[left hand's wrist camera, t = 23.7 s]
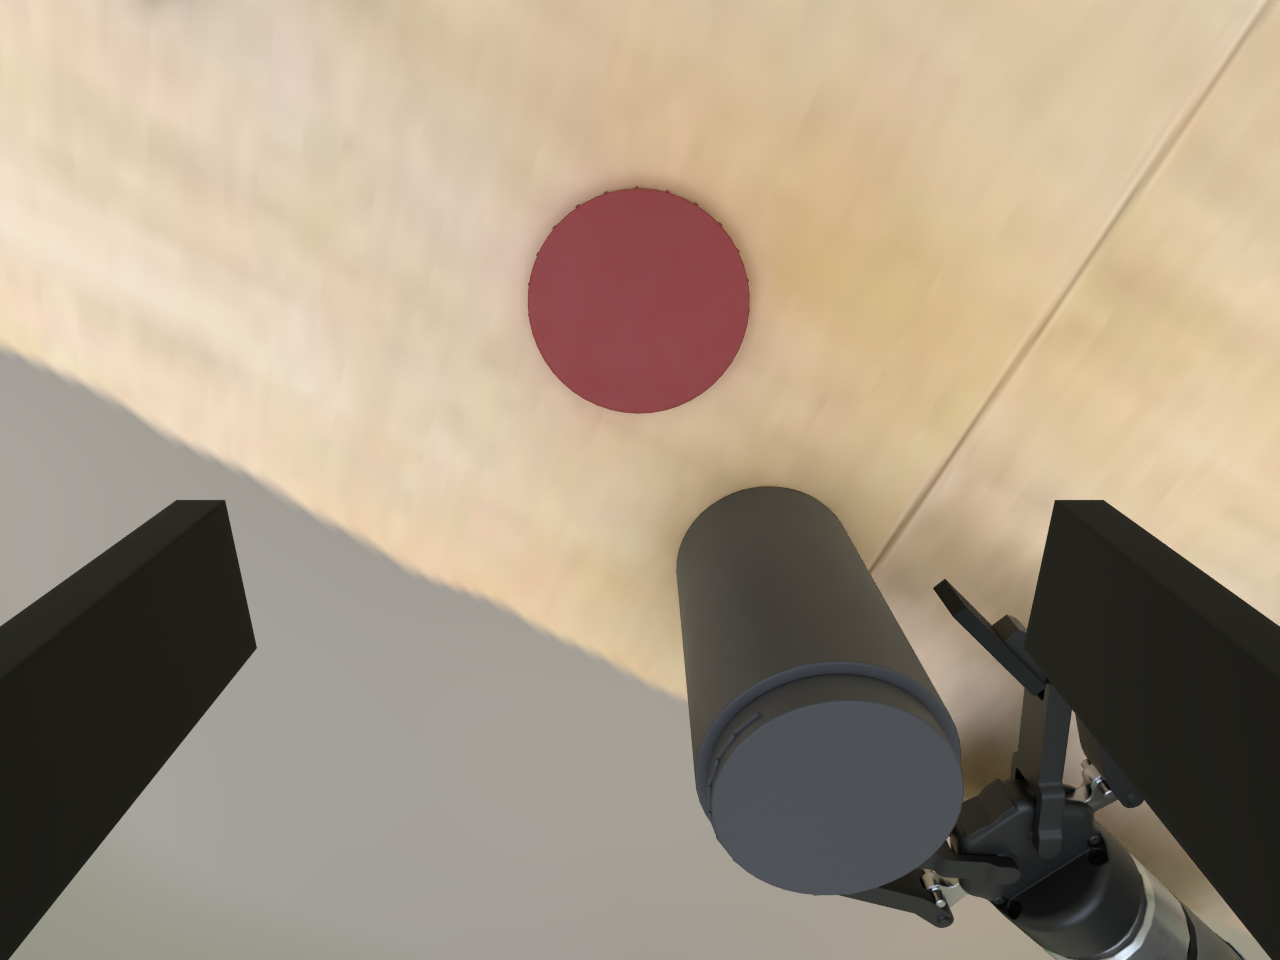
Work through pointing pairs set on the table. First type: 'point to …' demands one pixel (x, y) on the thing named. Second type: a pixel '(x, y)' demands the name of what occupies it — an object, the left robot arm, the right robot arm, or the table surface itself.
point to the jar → (808, 702)
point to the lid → (638, 300)
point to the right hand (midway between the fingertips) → (840, 680)
